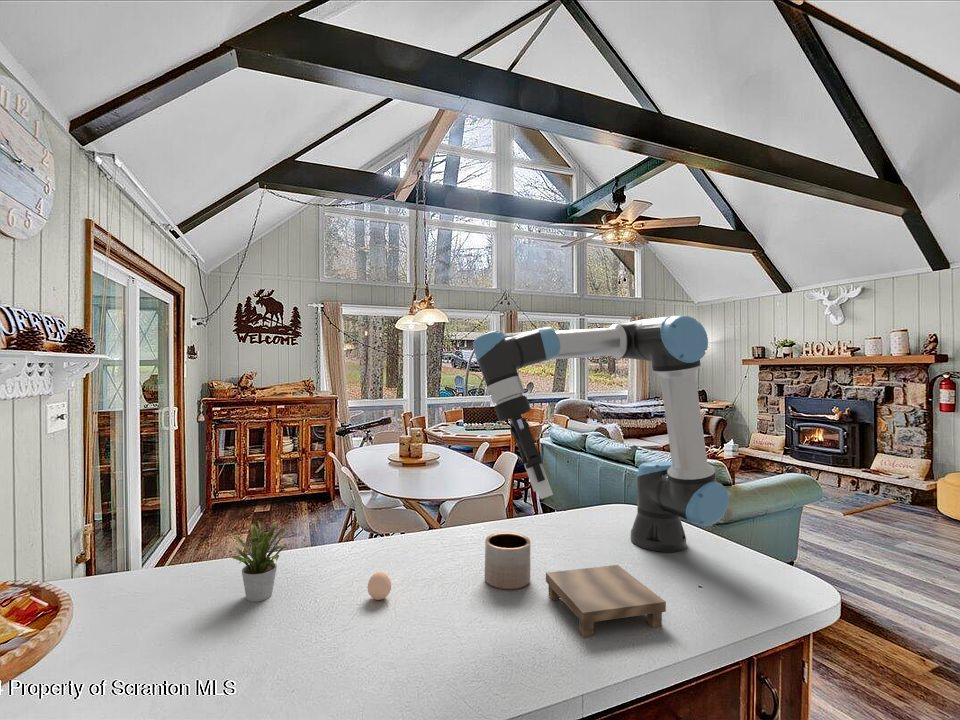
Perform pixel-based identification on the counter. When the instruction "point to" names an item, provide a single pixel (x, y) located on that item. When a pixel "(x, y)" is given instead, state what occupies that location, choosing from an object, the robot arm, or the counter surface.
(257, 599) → the house plant
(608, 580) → the plant stand
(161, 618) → the counter surface
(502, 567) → the planter
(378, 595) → the egg
